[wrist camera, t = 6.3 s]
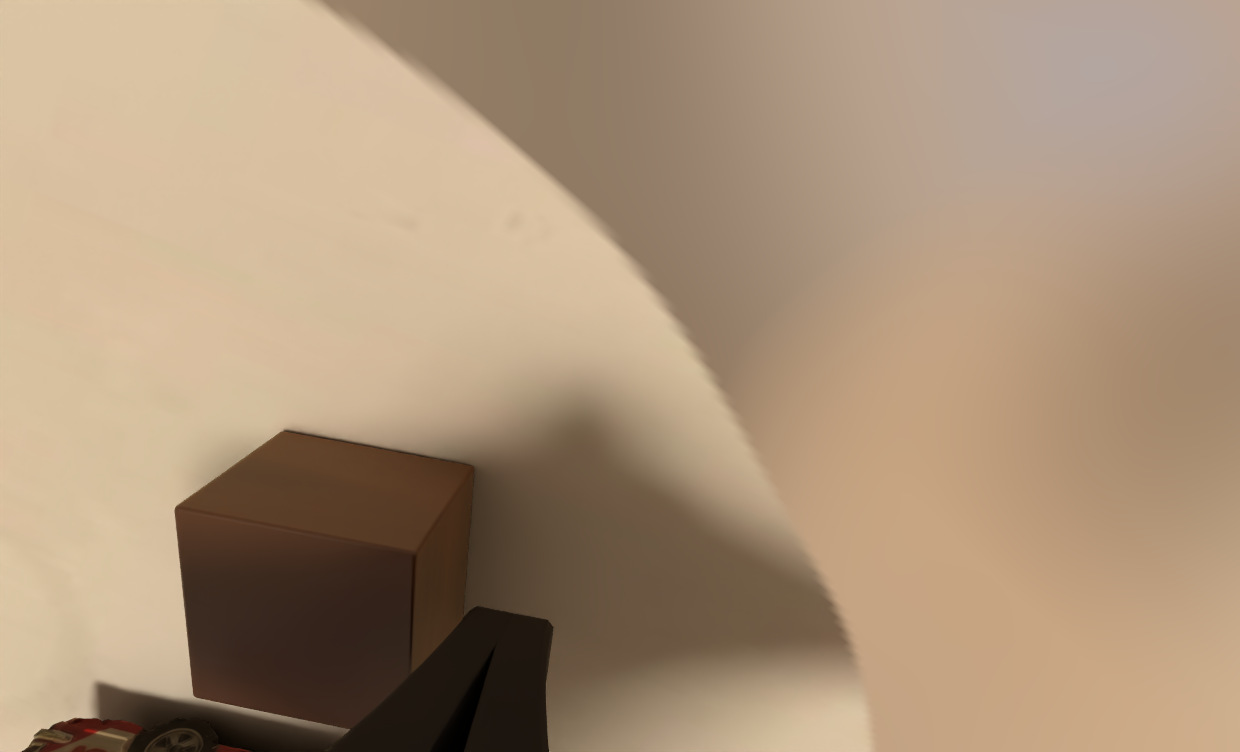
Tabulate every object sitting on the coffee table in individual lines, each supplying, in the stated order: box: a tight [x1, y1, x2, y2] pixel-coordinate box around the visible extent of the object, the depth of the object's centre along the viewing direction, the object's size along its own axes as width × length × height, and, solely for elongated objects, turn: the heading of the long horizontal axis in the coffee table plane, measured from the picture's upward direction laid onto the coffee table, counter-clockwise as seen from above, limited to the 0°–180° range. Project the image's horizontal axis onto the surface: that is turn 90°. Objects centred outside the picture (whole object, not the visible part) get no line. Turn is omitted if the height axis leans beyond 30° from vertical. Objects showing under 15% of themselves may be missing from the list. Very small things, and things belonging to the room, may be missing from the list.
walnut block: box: [175, 432, 474, 729], centre depth 13 cm, size 4×4×3 cm
